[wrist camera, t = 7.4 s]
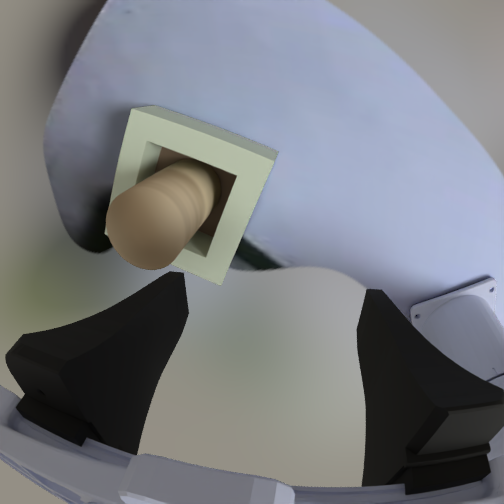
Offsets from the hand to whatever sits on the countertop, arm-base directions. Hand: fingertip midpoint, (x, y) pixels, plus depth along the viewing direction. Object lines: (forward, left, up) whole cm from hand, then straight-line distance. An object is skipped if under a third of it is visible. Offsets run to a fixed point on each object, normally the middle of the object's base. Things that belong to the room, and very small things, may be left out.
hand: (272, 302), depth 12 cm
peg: (+4, +5, -9) cm, 11 cm away
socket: (+4, +5, -9) cm, 11 cm away
